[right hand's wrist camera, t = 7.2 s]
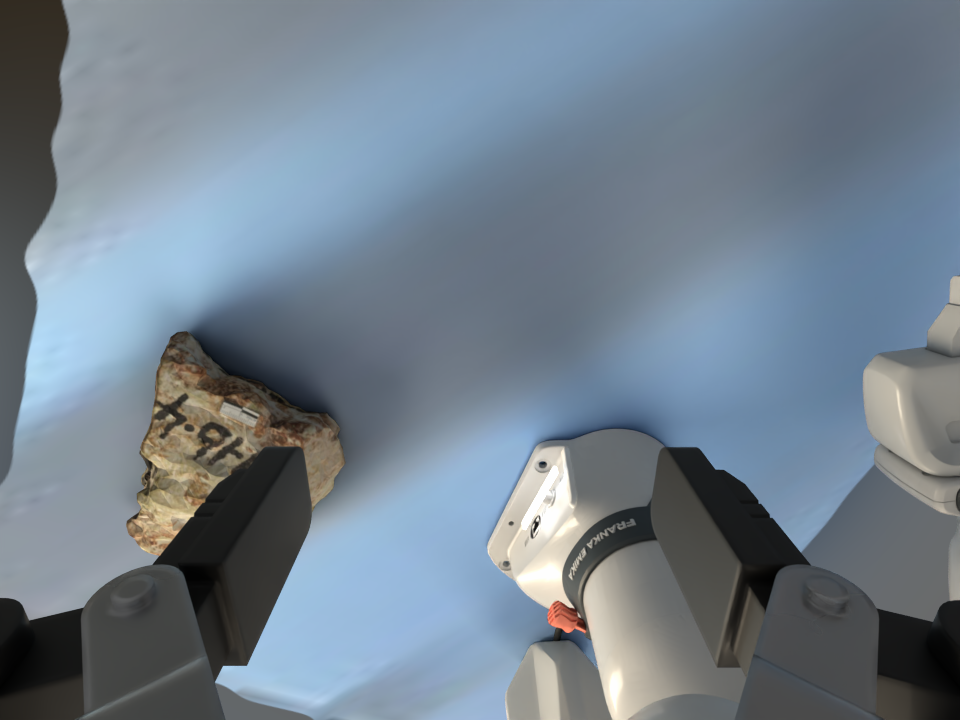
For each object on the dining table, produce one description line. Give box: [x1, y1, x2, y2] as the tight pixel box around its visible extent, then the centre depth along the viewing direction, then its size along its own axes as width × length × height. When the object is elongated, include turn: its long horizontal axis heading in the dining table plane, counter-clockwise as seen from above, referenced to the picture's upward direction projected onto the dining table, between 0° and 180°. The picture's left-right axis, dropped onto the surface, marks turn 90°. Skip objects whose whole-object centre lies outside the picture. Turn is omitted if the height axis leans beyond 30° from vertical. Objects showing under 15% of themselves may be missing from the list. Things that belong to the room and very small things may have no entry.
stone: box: [126, 331, 345, 556], centre depth 50 cm, size 19×6×25 cm
